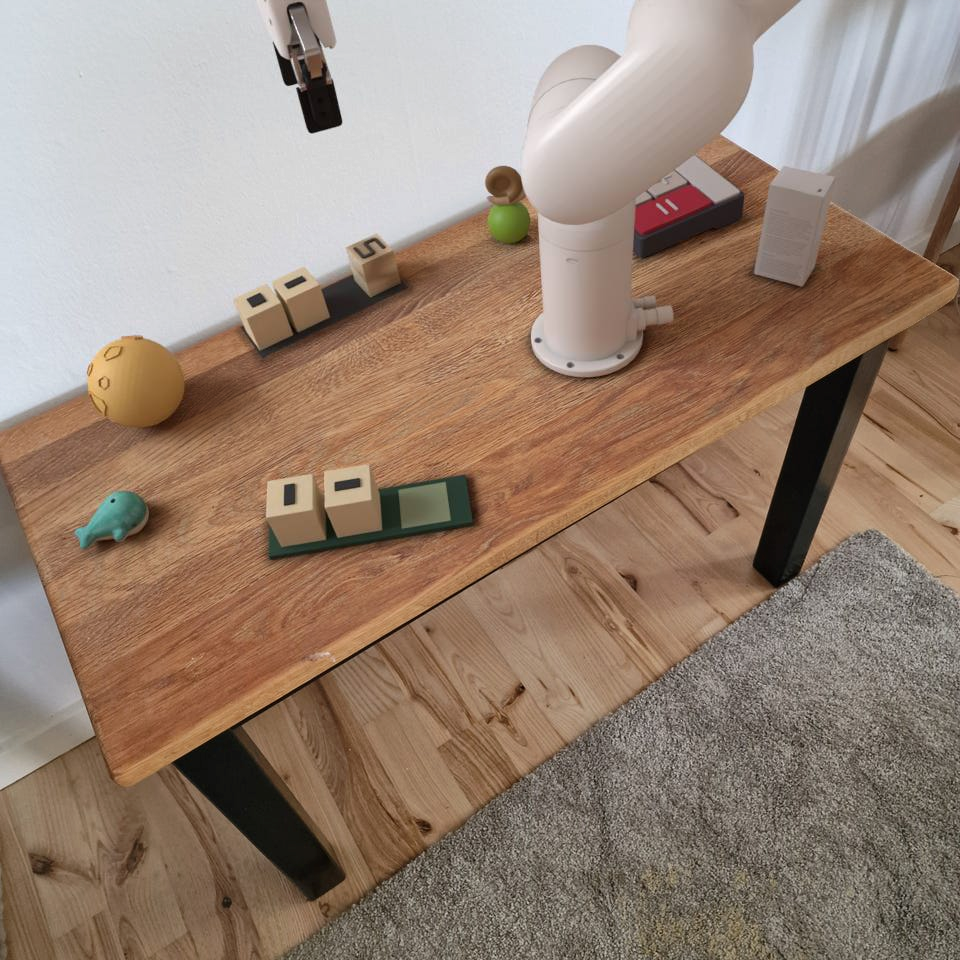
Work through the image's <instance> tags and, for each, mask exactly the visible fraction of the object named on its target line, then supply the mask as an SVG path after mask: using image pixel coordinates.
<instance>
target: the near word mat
mask: <svg viewBox="0 0 960 960" xmlns="http://www.w3.org/2000/svg"><path fill="white" fill-rule="evenodd" d="M323 475H324V476H323V477H324V480H323V481H324V484H323V485H324V497H323V495H322V492H321V489H320V488H319V485H318V483H317V480H316V478H315V476H314V474H313V473H308V474H302V475H296V476H295V475H294V476H290V477H285V478H279V479H273V480H267V483H266V510H265V511H266V512H265V519H266V520H267V522H268V524H269V528H268V529H269V533H268V555H267V556H268V559H269V560H270V561H271V560H277V559H282V558H289V557H295V556H301V555H306V554H312V553H319V552H324V551H331V550H337V549H342V548H348V547H354V546H361V545H366V544H371V543H378V542H384V541H389V540H395V539H400V538H406V537H407V538H408V537H413V536H419V535H424V534H430V533H434V532H435V533H436V532H441V531H449V530H454V529H459V528H467V527H472V526H474V518H473V512H472V505H471V498H470V493H469V486H468V481H467V479H468V478H467V475H466V474H459V475H454V476H453V475H452V476H449V477H442V478H437V479H431V480H430V479H429V480H425V481H419V482H413V483H406V484H400V485H395V486H390V487H383V488H378V485H377V482H376V480H375V476H374V474H373V470H372V467H371V464H370V463H366V464H359V465H354V466H348V467H343V468H337V469H331V470H326V471H325V470H324V472H323Z"/></svg>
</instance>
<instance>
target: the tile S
mask: <svg viewBox="0 0 960 960" xmlns="http://www.w3.org/2000/svg"><path fill="white" fill-rule="evenodd" d="M345 250H346V255H347V258H348V262H349V265H350V270H351V273H352V275H353V276H354V280H355V281H356V282H357V283H358V285H359V286H360V287H361V288H362V289H363V290H364V291H365V292H366V293H367V294H368V295H369V297H373V296H375V295H377V294H379V293H381V292H383V291H385V290H387V289H389V288H391V287H394V286H396V285H398V284H400V283H401V281H402V280H401V278H400V273H399V269H398V264H397V259H396V254H395V251H394V249H393V248H392V247H391V246H390V245H389V244H388V243H387V242H386V241H385V240H384V239H383V238H382V237H381V236H380V235H379V234H378V233H374V234H372V235H370V236H368V237H366V238H363V239H361V240H359V241H357V242H355V243H353V244H351V245H348V246H346V247H345ZM400 280H401V281H400Z"/></svg>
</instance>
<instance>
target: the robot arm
mask: <svg viewBox="0 0 960 960" xmlns="http://www.w3.org/2000/svg"><path fill="white" fill-rule="evenodd" d="M801 2H802V0H635V1H634V3H633V5H632V7H631V10H630V14H629V17H628V22H627V27H626V34H625V42H624V43H625V45H624V52H623V54H622V55H620V54H619V53H618V52H616V51H615V50H612V49H610V48H608V47H605V46H602V45H597V44H583V45H578V46H574V47H572V48H570V49H567V50H565V51H564V52H562V53H561V54H559V55H558V56H556V58H555V59H554V60H552V61H551V62H550V64H549V65H548V66H547V67H546V69H545V70H544V72H543V73H542V75H541V76H540V79H539V81H538V84H537V85H536V87H535V88H536V89H535V91H534V95H533V97H532V102H531V106H530V111H529V115H528V120H527V125H526V131H525V135H524V139H523V145H522V151H521V157H520V176H521V180H522V185H523V189H524V191H525V194H526V198H527V200H528V202H529V203H530V205H531V207H533V209H534V210H535V211H536V213H537V227H538V228H537V229H538V245H539V264H540V276H541V277H540V282H541V299H542V312H541V313H540V314H539V315H538V316H537V318H536V319H535V320H534V322H533V324H532V327H531V331H530V343H531V344H530V345H531V348H532V351H533V353H534V355H535V357H536V358H537V360H539V362H540V363H541V364H542V365H544V366H545V367H547V368H548V369H549V370H552V371H554V372H555V373H559V374H561V375H563V376H564V375H565V376H569V377H575V378H595V377H601V376H602V377H603V376H606V375H610V374H612V373H615V372H617V371H619V370H621V369H623V368H625V367H626V366H628V365H629V364H630V363H631V362H632V361H634V359H635V358H636V357H637V356H638V354H639V353H640V350H641V348H642V345H643V340H644V339H643V338H644V331H645V330H646V327H648V326H654V325H656V326H659V325H665V324H671V323H673V322H674V317H675V315H674V309H673V306H672V305H671V304H669V305H661V306H657V299H656V296H655V295H654V294H653V295H647V296H646V295H645V296H642V297H638V298H635V297H634V296H632V283H633V282H632V281H633V257H634V251H633V240H634V224H635V208H636V198H637V197H638V196H639V195H641V194H642V193H643V192H645V191H646V190H648V189H649V188H650V187H652V186H653V185H654V184H656V183H657V182H659V181H660V180H661V179H663V178H664V177H665V176H667V175H668V174H669V173H671V172H672V171H673V170H675V169H676V168H677V167H679V166H680V165H682V164H683V163H684V162H686V161H687V160H688V159H690V158H691V157H692V156H694V155H696V154H698V153H699V152H701V151H702V150H703V149H704V148H705V147H707V146H709V144H710V143H712V142H713V141H714V140H715V139H717V137H719V135H721V133H722V132H723V131H725V129H726V128H727V127H728V126H729V125H730V123H732V121H733V120H734V118H735V117H736V116H737V115H738V113H739V111H740V110H741V108H742V107H743V105H744V103H745V101H746V98H747V96H748V94H749V92H750V88H751V85H752V81H753V75H754V67H755V54H754V45H755V44H756V42H757V41H758V40H759V39H760V38H761V37H762V36H763V35H764V34H765V33H766V32H767V31H768V30H769V29H770V28H771V27H773V26H774V25H775V24H777V23H778V22H779V21H780V20H781V19H783V17H785V16H786V15H787V14H788V13H789V12H790V11H792V10H793V9H794V8H795V7H796V6H797V5H799V3H801ZM255 3H256V5H257V9H258V11H259V13H260V16H261V18H262V21H263V23H264V26H265V28H266V30H267V32H268V34H269V36H270V38H271V40H272V45H273V49H274V52H275V56H276V60H277V64H278V67H279V71H280V75H281V78H282V81H283V84H284V85H285V86H287V87H290V86H295V85H298V86H297V87H295V89H296V95H297V97H298V101H299V102H298V103H299V105H300V108H301V113H302V117H303V120H304V124H305V127H306V130H307V132H308V133H309V134H311V135H312V134H316V133H320V132H323V131H324V132H325V131H327V130H331V129H335V128H338V127H340V126H342V125H343V117H342V113H341V108H340V104H339V100H338V96H337V91H336V86H335V82H334V79H333V78H332V75H331V72H330V69H329V65H328V63H327V59H326V57H325V54H324V50H323V47H324V48H325V49H327V48H329V49H330V50H332V49H334V48H335V46H336V44H337V38H336V37H337V36H336V33H335V30H334V26H333V22H332V17H331V13H330V11H329V6H328V2H327V0H255Z"/></svg>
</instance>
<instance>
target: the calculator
mask: <svg viewBox="0 0 960 960" xmlns="http://www.w3.org/2000/svg"><path fill="white" fill-rule="evenodd" d="M745 196H746V194H745V193H744V191H742V190H741V189H740V188H738V187H737V186H736V185H735V184H733V183H732V182H731V181H729V179H727V178H726V177H725V176H723V175H722V174H720V172H718V171H717V170H716V169H715V168H713V167H712V166H711V165H710V164H708V163H707V162H706V161H704V160H703V159H702V158H701V157H699V156H698V155H696V154H695V155H694V156H692V157H691V158H690V159H688V160H687V161H686V162H684V163H683V164H682V165H680V166H679V167H677V168H676V169H675V170H673V171H672V172H671V173H669V174H668V175H667V176H665V177H664V178H663V179H661V180H660V181H659V182H657V183H656V184H654V185H653V186H652V187H650V188H649V189H648V190H646V191H645V192H643V193H642V194H641V195H639V196H638V197H637V198H636V208H635V224H634V240H633V253H634V254H636V255H637V256H638V257H639V258H640V259H644V258H646V257H649V256H651V255H653V254H655V253H657V252H660V251H662V250H665V249H667V248H670V247H671V246H673V245H676V244H678V243H681V242H684V241H685V240H687V239H690V238H692V237H694V236H696V235H699V234H701V233H703V232H705V231H706V232H707V231H708V230H710V229H722V228H724V227H725V226H728V225H731V224H732V223H735V222H738V221H739V220H741V219H742V218H743V213H744V205H745Z"/></svg>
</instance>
